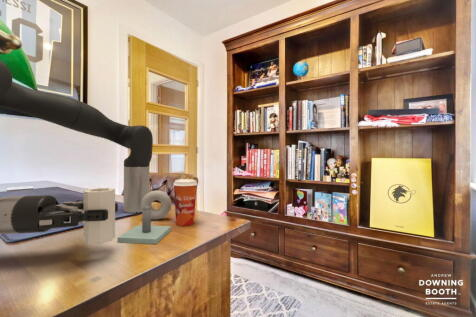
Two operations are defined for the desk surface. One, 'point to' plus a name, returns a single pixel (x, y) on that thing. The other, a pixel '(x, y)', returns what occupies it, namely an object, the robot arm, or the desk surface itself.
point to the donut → (160, 197)
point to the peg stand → (145, 231)
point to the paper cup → (185, 201)
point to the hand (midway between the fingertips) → (112, 211)
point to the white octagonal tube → (99, 229)
